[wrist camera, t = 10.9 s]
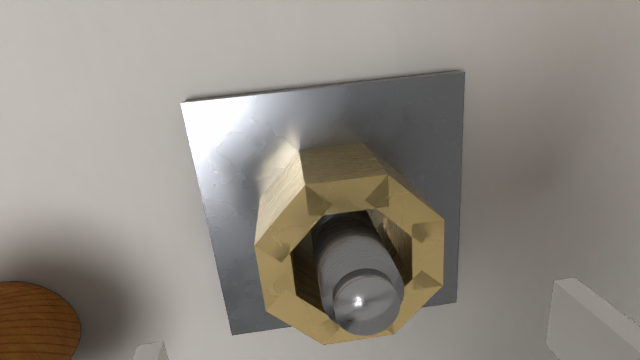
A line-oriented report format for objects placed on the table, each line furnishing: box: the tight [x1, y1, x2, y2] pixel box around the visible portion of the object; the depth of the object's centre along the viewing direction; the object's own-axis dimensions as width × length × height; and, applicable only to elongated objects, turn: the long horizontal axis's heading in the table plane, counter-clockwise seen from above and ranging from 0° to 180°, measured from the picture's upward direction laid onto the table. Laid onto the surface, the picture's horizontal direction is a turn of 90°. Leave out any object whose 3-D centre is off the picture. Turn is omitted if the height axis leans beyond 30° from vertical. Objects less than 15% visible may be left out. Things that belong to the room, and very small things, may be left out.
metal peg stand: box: [181, 71, 465, 336], centre depth 18 cm, size 14×14×9 cm
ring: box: [254, 143, 444, 345], centre depth 19 cm, size 8×8×5 cm
